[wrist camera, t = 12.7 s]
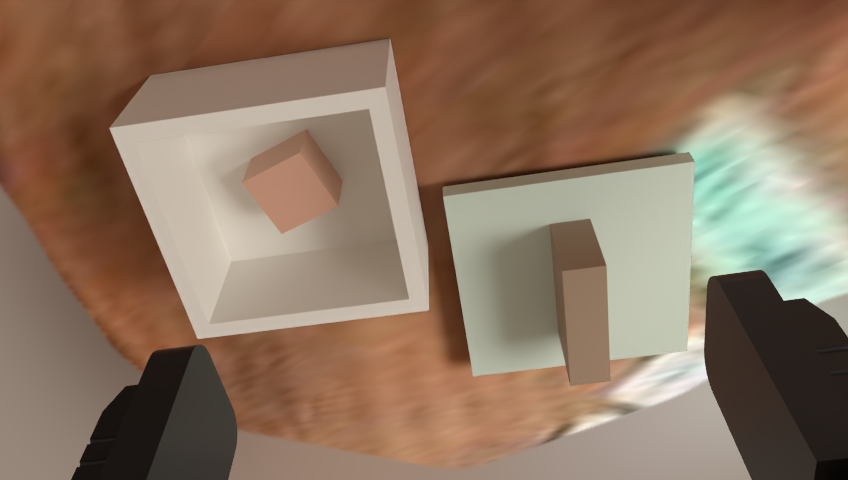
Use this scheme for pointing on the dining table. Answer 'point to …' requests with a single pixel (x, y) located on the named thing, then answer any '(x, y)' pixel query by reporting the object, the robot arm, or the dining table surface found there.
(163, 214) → the box
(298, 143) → the exposed block
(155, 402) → the robot arm
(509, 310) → the lid
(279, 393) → the dining table surface
